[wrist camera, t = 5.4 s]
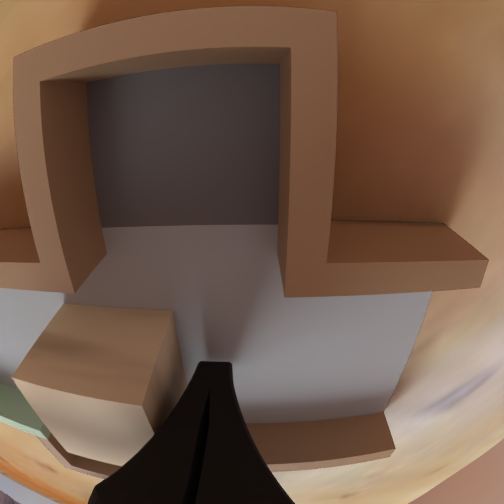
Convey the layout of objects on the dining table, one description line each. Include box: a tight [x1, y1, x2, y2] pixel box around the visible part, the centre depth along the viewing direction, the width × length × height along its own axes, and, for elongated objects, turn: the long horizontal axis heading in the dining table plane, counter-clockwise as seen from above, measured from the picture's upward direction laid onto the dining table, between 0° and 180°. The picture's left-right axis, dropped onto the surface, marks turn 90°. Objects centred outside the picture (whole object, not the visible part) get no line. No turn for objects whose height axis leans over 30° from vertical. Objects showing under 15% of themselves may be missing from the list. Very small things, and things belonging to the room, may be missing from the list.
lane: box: [0, 6, 489, 479], centre depth 11 cm, size 22×27×3 cm
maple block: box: [12, 304, 188, 466], centre depth 11 cm, size 5×5×4 cm
